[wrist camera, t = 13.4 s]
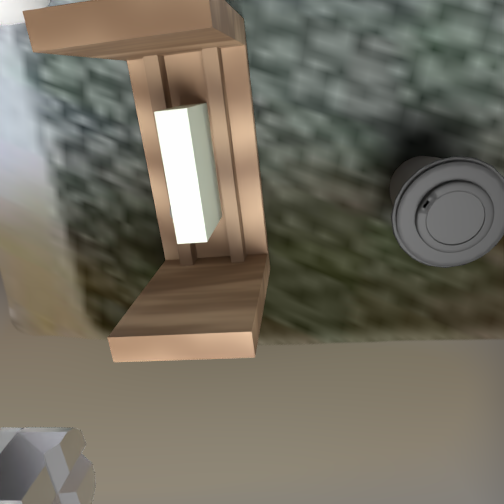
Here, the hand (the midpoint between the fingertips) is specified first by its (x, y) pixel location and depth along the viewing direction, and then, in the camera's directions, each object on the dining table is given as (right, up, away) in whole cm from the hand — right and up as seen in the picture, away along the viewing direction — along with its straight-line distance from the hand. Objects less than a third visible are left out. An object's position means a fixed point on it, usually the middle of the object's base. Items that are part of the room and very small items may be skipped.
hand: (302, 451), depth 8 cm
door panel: (-5, +11, +32) cm, 34 cm away
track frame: (-5, +12, +33) cm, 35 cm away
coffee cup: (+14, +9, +32) cm, 36 cm away
